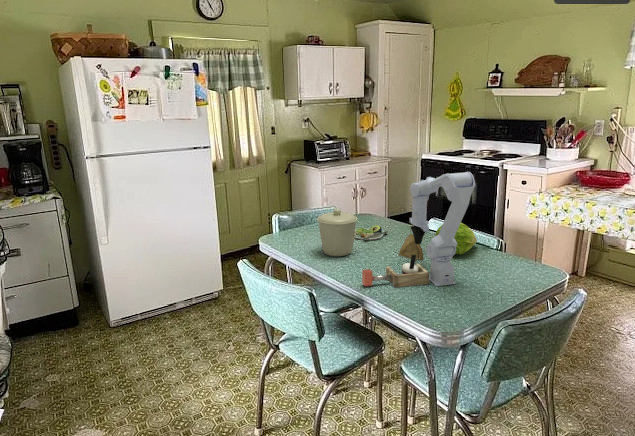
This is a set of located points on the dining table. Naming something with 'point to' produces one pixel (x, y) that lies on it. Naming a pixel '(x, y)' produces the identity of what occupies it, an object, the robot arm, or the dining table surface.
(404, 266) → the cocoa
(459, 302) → the dining table surface
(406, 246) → the rock
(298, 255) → the dining table surface
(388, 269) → the dock
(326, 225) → the canister
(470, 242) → the lettuce
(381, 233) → the salad plate
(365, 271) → the lock pin
